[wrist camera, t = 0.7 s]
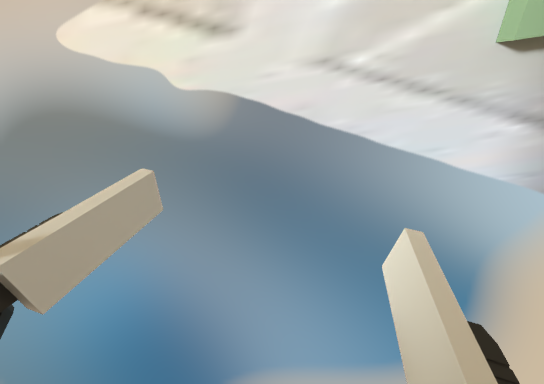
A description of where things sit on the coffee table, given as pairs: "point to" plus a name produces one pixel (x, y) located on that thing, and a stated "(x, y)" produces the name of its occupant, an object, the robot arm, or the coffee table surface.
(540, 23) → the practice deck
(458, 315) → the robot arm
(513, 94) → the coffee table surface
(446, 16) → the coffee table surface
